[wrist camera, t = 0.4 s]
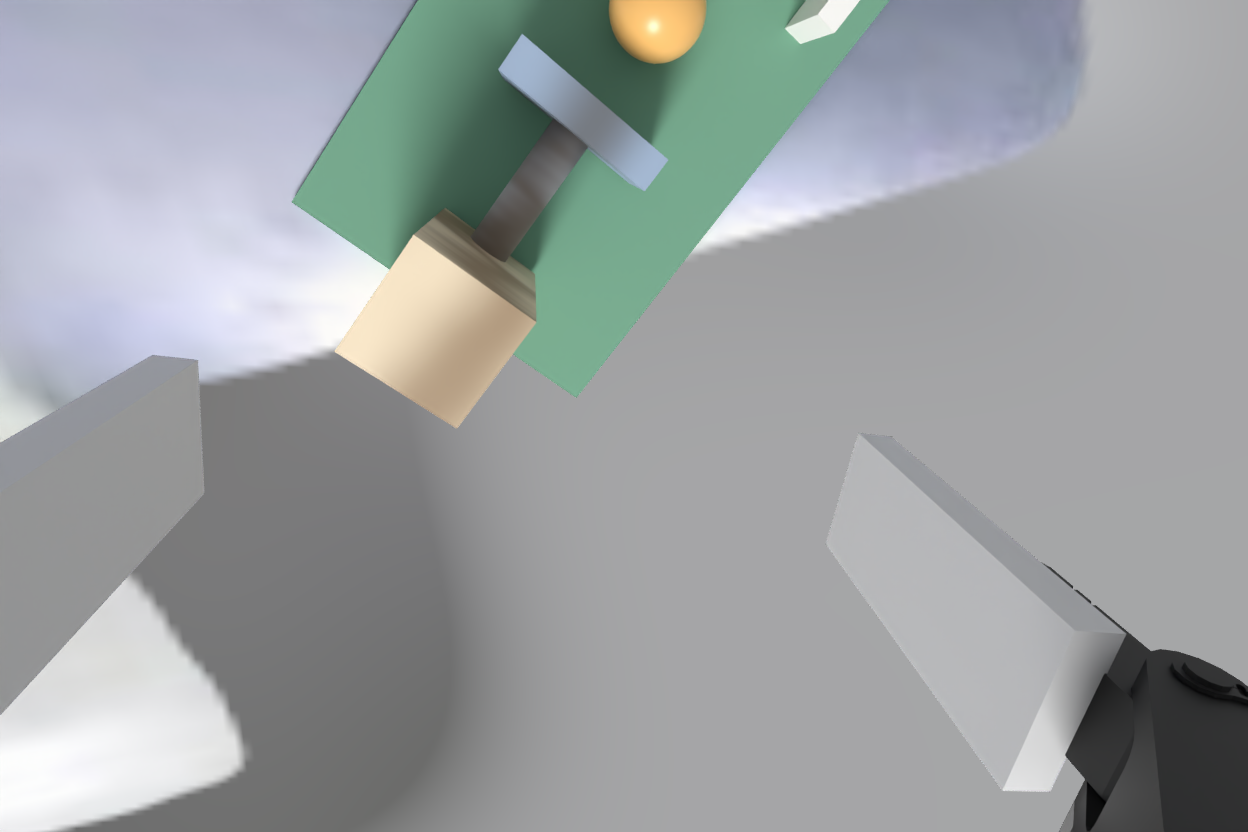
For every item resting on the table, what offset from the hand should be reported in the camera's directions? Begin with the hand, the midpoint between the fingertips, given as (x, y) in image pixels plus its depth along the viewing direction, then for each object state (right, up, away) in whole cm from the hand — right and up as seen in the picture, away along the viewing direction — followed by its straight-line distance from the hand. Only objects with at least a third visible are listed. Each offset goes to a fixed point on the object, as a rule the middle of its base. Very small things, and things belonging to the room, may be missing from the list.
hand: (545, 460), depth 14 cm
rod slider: (-4, +10, +19) cm, 21 cm away
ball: (+3, +18, +15) cm, 23 cm away
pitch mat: (+1, +16, +18) cm, 24 cm away
